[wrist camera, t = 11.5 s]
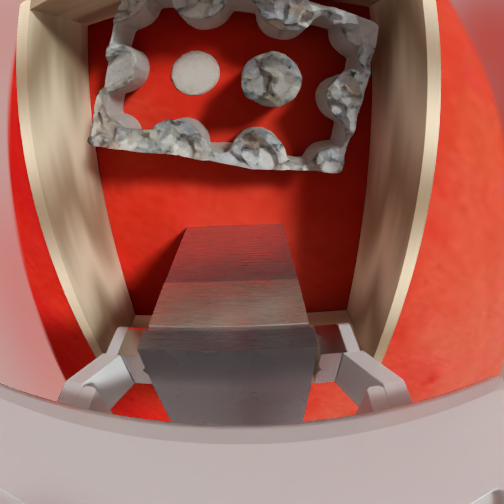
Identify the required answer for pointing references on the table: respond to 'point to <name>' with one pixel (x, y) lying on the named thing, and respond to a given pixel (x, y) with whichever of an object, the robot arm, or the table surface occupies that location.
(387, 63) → the tote
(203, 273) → the tin
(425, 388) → the table surface
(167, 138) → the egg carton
